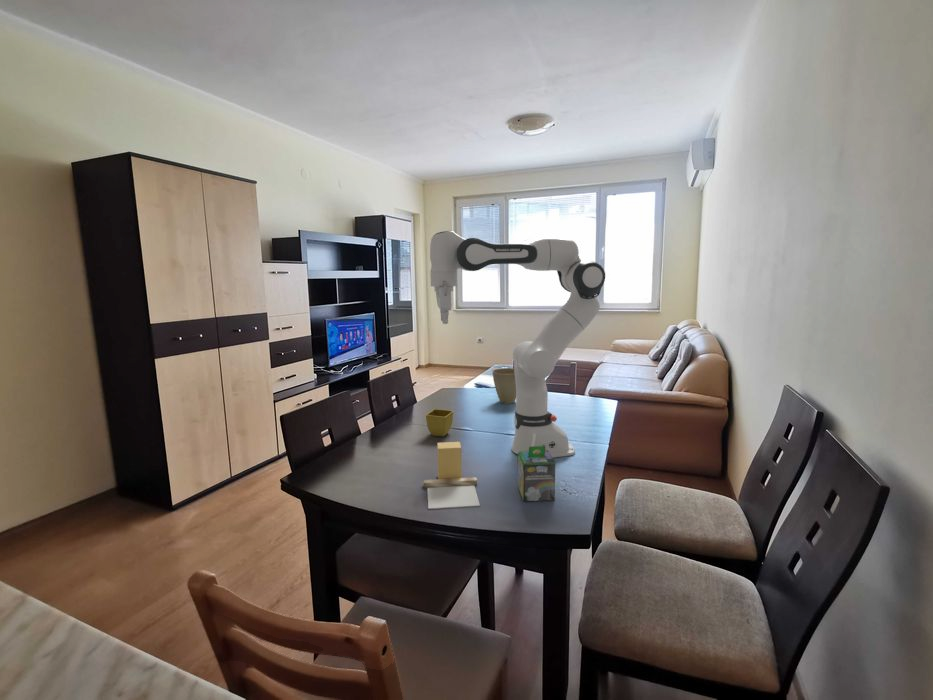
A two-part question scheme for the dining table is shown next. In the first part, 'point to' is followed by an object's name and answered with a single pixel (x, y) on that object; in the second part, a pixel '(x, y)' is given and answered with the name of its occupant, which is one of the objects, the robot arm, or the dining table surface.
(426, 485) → the beech kerb
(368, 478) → the dining table surface
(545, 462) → the chalk box
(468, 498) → the felt mat
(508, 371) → the plant pot
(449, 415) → the flower pot
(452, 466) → the ochre block
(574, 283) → the robot arm
